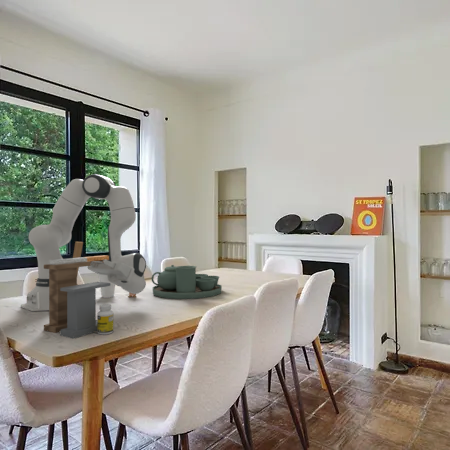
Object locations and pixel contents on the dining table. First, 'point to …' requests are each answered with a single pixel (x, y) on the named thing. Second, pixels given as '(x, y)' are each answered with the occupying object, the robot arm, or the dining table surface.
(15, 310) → the dining table surface
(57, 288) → the tall stand
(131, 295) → the grandmother figurine
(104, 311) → the supplement bottle
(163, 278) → the tea set
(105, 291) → the foam cup
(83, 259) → the wooden handled knife
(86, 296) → the rack
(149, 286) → the dining table surface
